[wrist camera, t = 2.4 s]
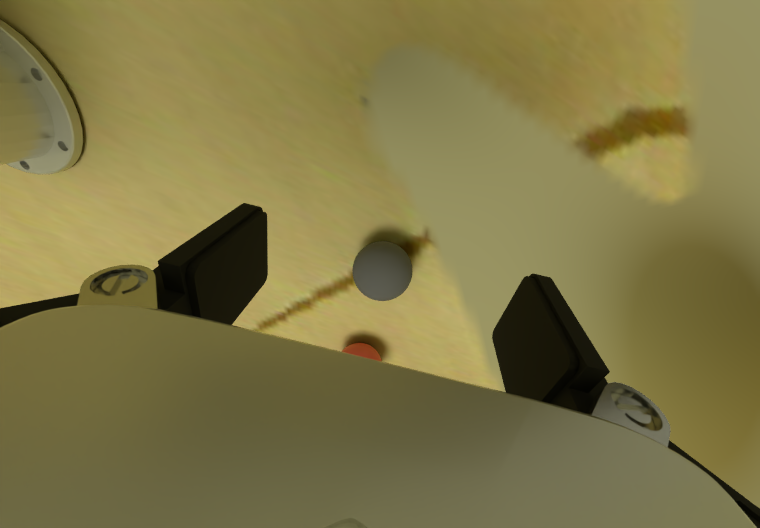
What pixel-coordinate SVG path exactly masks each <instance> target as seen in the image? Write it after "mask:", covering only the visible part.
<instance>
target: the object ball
mask: <svg viewBox="0 0 760 528" xmlns="http://www.w3.org/2000/svg"><path fill="white" fill-rule="evenodd" d="M342 352H345V353H349V354H353V355H357V356H361V357H365V358H369V359H373V360H377V361H381V362H382V360H381V357H380V355H379V353H378V352H377V351H376V350H375V349H374V348H373V347H372V346H370V345H368V344H365V343H354V344H351V345H349V346H347V347H346V348H345V349H343V350H342Z"/></svg>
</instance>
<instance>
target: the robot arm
mask: <svg viewBox="0 0 760 528" xmlns="http://www.w3.org/2000/svg"><path fill="white" fill-rule="evenodd" d="M82 145H83V133H82V126H81V122H80V118H79V114H78V112H77V109H76V107H75V104H74V102H73V99H72V98H71V96H70V94H69V92H68V90H67V88H66V87H65V85H64V83H63V82H62V80H61V79H60V77H59V76H58V74H57V73H56V72H55V70H54V69H53V67H52V66H51V65H50V64H49V63H48V61H47V60H46V59H45V58H44V57H43V56H42V55H41V53H40V52H39V51H38V50H37V49H36V48H35V47H34V46H33V45H32V44H31V43H30V42H29V41H27V40H26V39H25V38H24V37H23V36H22V35H21V34H20V33H18V32H17V31H16V30H14V29H13V28H12V27H10V26H9V25H8V24H6V23H5V22H3V21H2V20H0V165H3V164H7V165H9V166H11V167H13V168H16V169H19V170H22V171H24V172H28V173H33V174H53V173H57V172H61V171H64V170H66V169H68V168H71V167H72V166H73V165H74V164H75V163H76V162H77V160H78V158H79V156H80V154H81V151H82ZM158 264H159V266H158V267H157V268H155V269H154V270H151V269H149V268H147V267H144V266H141V265H119V266H114V267H109V268H106V269H103V270H100V271H98V272H96V273H94V274H92V275H90V276H89V277H88V278H87V279H86V280H84V282H83V284H82V286H81V289H80V293H79V294H74V295H69V296H64V297H58V298H53V299H48V300H42V301H37V302H32V303H27V304H21V305H16V306H11V307H5V308H0V528H760V508H758V507H757V506H755V505H754V504H752V503H751V502H750V501H749V500H747V499H746V498H745V497H743V496H742V495H741V494H739V493H738V492H737V491H735V490H734V489H733V488H731V487H730V486H729V485H727V484H726V483H725V482H724V481H722V480H721V479H719V478H718V477H717V476H716V475H714V474H713V473H711V472H710V471H709V470H708V469H706V468H705V467H704V466H702V465H701V464H700V463H699V462H697V461H696V460H694V459H693V458H692V457H691V456H689V455H688V454H687V453H685V452H684V451H683V450H681V449H680V448H679V447H677V446H676V445H675V444H673V443H672V442H671V441H670V440H669V437H670V425H669V423H668V421H667V419H666V417H665V415H664V414H663V413H662V412H661V410H660V409H659V408H658V407H657V406H656V405H655V404H654V403H653V402H652V401H651V400H650V399H649V398H647V397H646V396H645V395H643V394H642V393H640V392H639V391H637V390H635V389H634V388H632V387H630V386H627V385H625V384H621V383H616V382H613V383H607V381H606V379H605V378H604V377H605V376H606V375H607V374H608V373H609V372H610V371H609V370H608V368H607V367H606V365H605V363H604V362H603V360H602V359H601V357H600V356H599V354H598V352H597V351H596V349H595V348H594V346H593V344H592V343H591V341H590V340H589V338H588V336H587V335H586V333H585V332H584V330H583V328H582V327H581V325H580V324H579V322H578V320H577V319H576V317H575V316H574V314H573V312H572V311H571V309H570V307H569V306H568V304H567V303H566V301H565V300H564V298H563V296H562V295H561V293H560V291H559V290H558V288H557V287H556V285H555V283H554V282H553V280H552V279H551V278H550V277H545V276H541V275H537V274H531V275H530V276H529V277H528V276H526V277H524V279H523V280H522V282H521V284H520V285H519V287H518V289H517V290H516V292H515V294H514V295H513V297H512V299H511V301H510V302H509V304H508V306H507V308H506V310H505V311H504V313H503V315H502V317H501V318H500V320H499V322H498V323H497V325H496V327H495V328H494V331H493V337H492V338H493V343H494V347H495V350H496V355H497V359H498V363H499V367H500V371H501V375H502V379H503V383H504V387H505V391H506V392H502V391H498V390H494V389H490V388H486V387H482V386H478V385H474V384H470V383H466V382H462V381H458V380H454V379H450V378H446V377H442V376H438V375H434V374H430V373H426V372H422V371H418V370H414V369H410V368H406V367H401V366H397V365H393V364H389V363H385V362H381V361H377V360H373V359H369V358H365V357H361V356H357V355H353V354H349V353H345V352H340V351H336V350H332V349H328V348H324V347H320V346H316V345H312V344H308V343H303V342H299V341H295V340H291V339H287V338H283V337H279V336H274V335H270V334H266V333H262V332H258V331H254V330H249V329H245V328H241V327H237V326H233V325H232V324H233V322H234V321H235V320H236V318H237V317H238V316H239V315H240V313H241V312H242V311H243V310H244V308H245V307H246V306H247V305H248V303H249V302H250V301H251V300H252V298H253V297H254V296H255V295H256V293H257V292H258V291H259V290H260V288H261V287H262V286H263V285H264V283H265V281H266V279H267V274H268V265H267V214H266V212H263V210H262V208H261V207H258V206H254V205H250V204H246V203H243V204H241V205H240V206H238V207H237V208H235V209H234V210H232V211H231V212H230V213H228V214H227V215H225V216H224V217H222V218H221V219H219V220H218V221H216V222H215V223H213V224H212V225H210V226H209V227H207V228H206V229H204V230H203V231H201V232H200V233H199V234H197V235H196V236H194V237H193V238H191V239H190V240H188V241H187V242H185V243H184V244H182V245H181V246H179V247H178V248H176V249H175V250H173V251H172V252H170V253H169V254H167V255H166V256H165V257H163V258H162V259H160V260H159V261H158Z"/></svg>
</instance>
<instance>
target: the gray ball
mask: <svg viewBox="0 0 760 528" xmlns="http://www.w3.org/2000/svg"><path fill="white" fill-rule="evenodd" d="M411 277H412V264H411V261H410V259H409V257H408V255H407V253H406V252H405V251H404V250H403V249H402V248H401V247H399V246H398V245H396V244H394V243H391V242H387V241H378V242H374V243H371V244H369V245H367V246H366V247H364V248H363V249H362V250H361V251H360V252H359V253H358V255H357V256H356V258H355V261H354V264H353V278H354V281H355V284H356V286H357V287H358V289H359V290H360V291H361V292H362V293H363V294H364V295H365V296H367V297H369V298H371V299H374V300H378V301H387V300H391V299H394V298H396V297H398V296H399V295H401V294H402V293H403V292H404V291H405V290H406V289H407V287H408V285H409V283H410V281H411Z"/></svg>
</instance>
